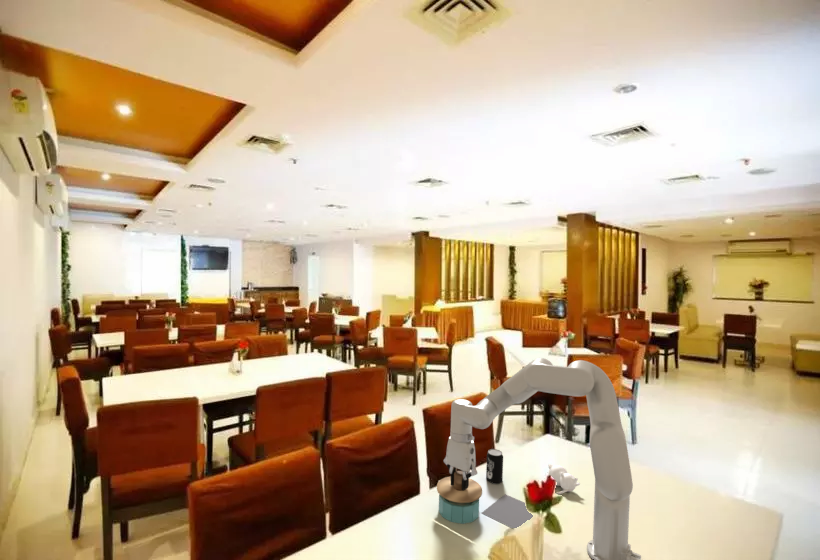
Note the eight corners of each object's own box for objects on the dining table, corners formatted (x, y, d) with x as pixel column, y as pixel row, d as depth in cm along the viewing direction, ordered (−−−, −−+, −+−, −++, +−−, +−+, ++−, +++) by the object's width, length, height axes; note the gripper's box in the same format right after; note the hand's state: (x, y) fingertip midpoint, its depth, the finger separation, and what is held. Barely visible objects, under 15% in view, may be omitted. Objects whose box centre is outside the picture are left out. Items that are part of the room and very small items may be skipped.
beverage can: (502, 486, 161) (503, 456, 160) (486, 484, 162) (486, 454, 162) (502, 478, 167) (503, 449, 167) (486, 476, 168) (487, 447, 168)
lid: (490, 489, 143) (491, 473, 143) (465, 508, 131) (465, 491, 131) (454, 473, 153) (454, 458, 153) (427, 489, 142) (428, 473, 141)
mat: (547, 514, 142) (547, 512, 142) (526, 536, 130) (526, 535, 130) (505, 495, 154) (505, 494, 154) (481, 514, 141) (481, 513, 141)
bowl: (486, 511, 143) (486, 495, 143) (463, 530, 132) (464, 512, 132) (454, 496, 152) (454, 480, 152) (431, 512, 142) (431, 495, 142)
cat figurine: (576, 471, 155) (554, 456, 166) (558, 490, 152) (536, 474, 163) (584, 487, 158) (561, 471, 168) (566, 506, 154) (544, 489, 165)
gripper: (487, 439, 139) (485, 491, 139) (448, 426, 150) (446, 474, 151) (475, 446, 133) (473, 500, 134) (435, 431, 145) (434, 481, 145)
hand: (459, 486), depth 142 cm, fingers closed on lid, 4 cm apart
